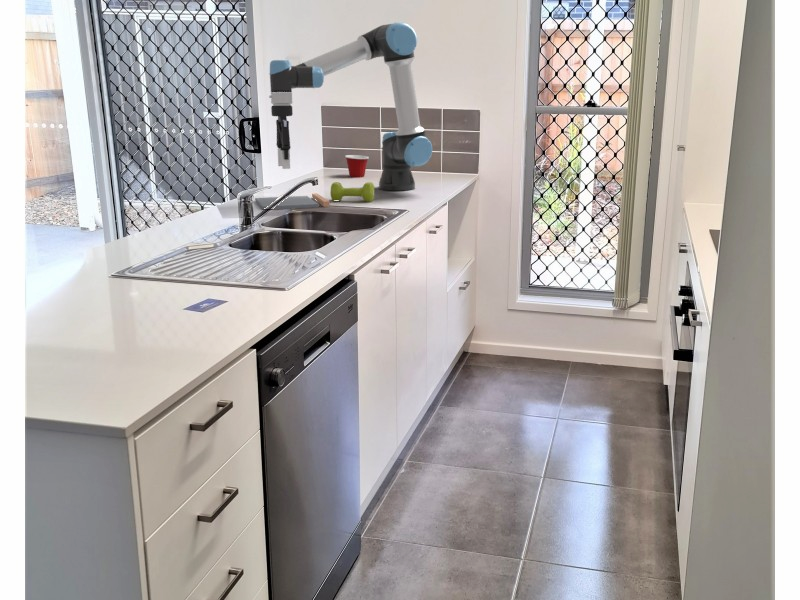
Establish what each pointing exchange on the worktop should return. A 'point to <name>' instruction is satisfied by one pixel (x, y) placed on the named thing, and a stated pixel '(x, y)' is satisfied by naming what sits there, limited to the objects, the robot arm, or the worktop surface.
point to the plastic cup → (356, 165)
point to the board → (288, 202)
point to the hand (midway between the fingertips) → (284, 167)
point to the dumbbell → (352, 191)
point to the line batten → (321, 200)
